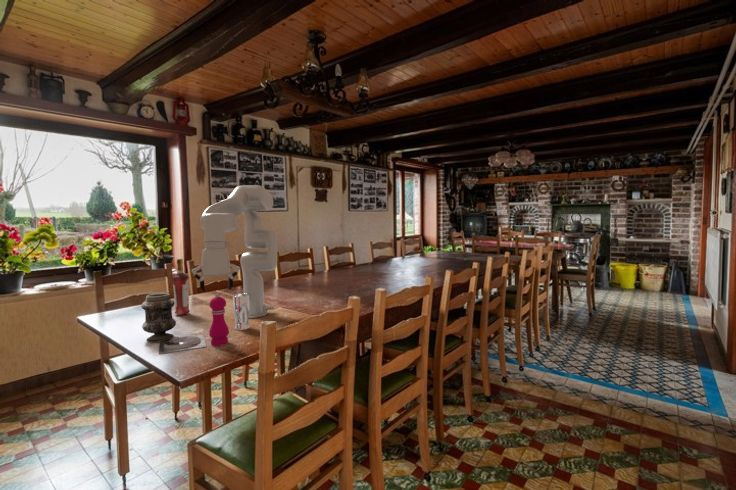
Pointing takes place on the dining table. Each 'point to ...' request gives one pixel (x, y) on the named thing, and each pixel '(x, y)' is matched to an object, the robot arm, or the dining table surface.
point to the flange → (182, 344)
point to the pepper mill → (218, 322)
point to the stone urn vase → (158, 316)
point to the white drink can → (241, 310)
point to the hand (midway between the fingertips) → (216, 289)
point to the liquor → (181, 290)
